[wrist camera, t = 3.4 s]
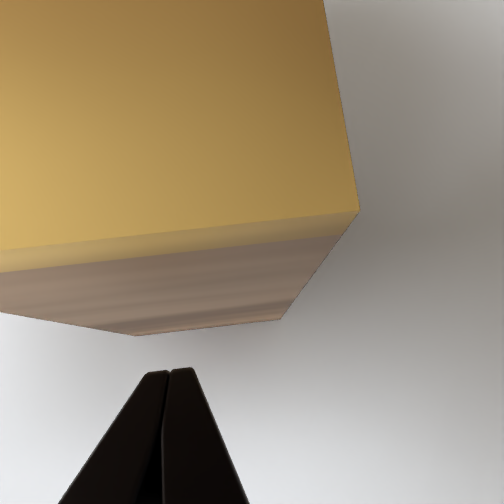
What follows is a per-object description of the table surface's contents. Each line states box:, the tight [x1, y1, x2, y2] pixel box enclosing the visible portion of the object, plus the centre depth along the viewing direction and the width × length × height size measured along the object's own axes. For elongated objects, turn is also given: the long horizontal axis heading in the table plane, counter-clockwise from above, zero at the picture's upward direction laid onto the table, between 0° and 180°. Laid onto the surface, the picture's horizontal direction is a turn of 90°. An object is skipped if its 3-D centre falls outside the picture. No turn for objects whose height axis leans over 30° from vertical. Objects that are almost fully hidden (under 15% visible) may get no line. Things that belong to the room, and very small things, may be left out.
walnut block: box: [0, 0, 360, 336], centre depth 10 cm, size 5×5×12 cm
